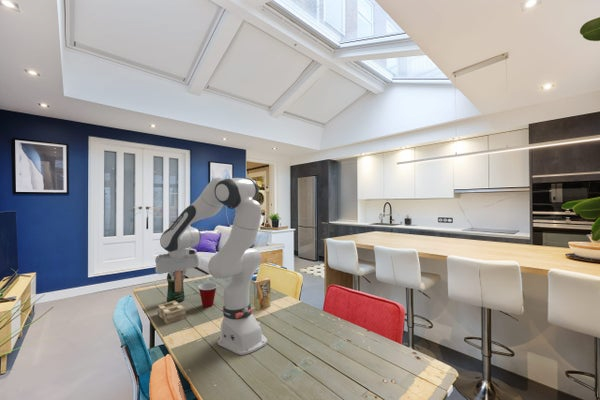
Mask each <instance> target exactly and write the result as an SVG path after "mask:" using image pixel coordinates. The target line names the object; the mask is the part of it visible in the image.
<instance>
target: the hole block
mask: <svg viewBox="0 0 600 400" xmlns="http://www.w3.org/2000/svg"><path fill="white" fill-rule="evenodd" d="M186 309H187V308H186V307H184V306H183V305H182V304H180V302H176V301H171V302H168V303H167V302H164V303H161V304H157V315H158V316H159V317H160V318H161V319H162V321H164V322H165V324H167V325H169V324H172V323H174V322H178V321H181V320H184V319H186V317H187V316H186V315H187V312H186V311H187V310H186Z"/></svg>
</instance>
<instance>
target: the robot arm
mask: <svg viewBox="0 0 600 400" xmlns="http://www.w3.org/2000/svg"><path fill="white" fill-rule="evenodd" d="M259 192H260V188H259V185H258V182H257V181H255V179H252V178H250V177H249V178H247V177H245V178H244V177H231V178H224V177H215V178H213V179H212V180H210V182H209V183H207V184H206V186H205V188H204V189H203V190H202V191H201V194H200V195H199V196H198V197H197V198H196V199H195V200H194V201H193V202H192V203H191V204H190V205H188V206H187V207H186V208H185V209H184V210H183V211H182V212H181V213H180V214H179V216H177V218H176V219H175V221H174V220H173V221H171V222H170V223H169V225H168V229H166V230H165V231H163V233H162V234H161V236H160V238H159V239H160V240H159V243H160V246H161V248H162V249H164V250H165V251H166V252H167V253H163V254H158V255H157V256H156V257H155V273H156V274H157V275H162V274H168V273H169V274H170V276H171V280H176V279H175V278H176V276H173V275H172V274H173V272H174V271H179V270H181V271H183V273H182V274H181V278H184V279H185V275H186V273H187V271H188V269H194V268H197V267H198V266H199V264H200V263H199V262H200V261H199V256H198V254H197V253H198V251H197V250H198V249H197V250H196V249H195V248H193V247H196V246H198V245H199V244H200V242H201V240H202V235H201V232H200V230H199V229H198V228H196V227H193V226H191V225H192V224H194V223H196V222H198V221H201V220H206V219H209V218H212V217H215V216H216V215H217V214H218V213H219V212H221V210H222V208H223V207H224V206H226V207H227V208H228V209H230V210H233V209H235V215H234V219H233V222H232V225H231V228H230V229H231V230H230V234H229V235H228V238H227V240H226V241H225V243H224V245H223V246H222V247H221V248H220V249H219V251H217V252H216V253H215V254H214V255H213V256H211V257H210V259H209V261H208V265H207V268H208V272H209V274H210V275H211V276H212V277H213V278H214V279H227V278H230V277H231V279H230V281H229V282H228V283H227V285H225V287H224V290H223V302H224V303H223V309H222V313H223V314H222V315H223V319H222V320H221V322H220V332H219V333H220V334H219V335H220V336H219V339H218V340H217V345H218V346H220V347H223V348H224V349H227V350H229V351H230V352H233V353H235V354H237V355H239V356H243V355H247V354H251V353H254V352H255V351H257V350H259V349H261V348H263V347H264V346H265V345H266V344H267V343H268V338H267V337H266V336H265V335H264V334H263V333H262V324H261V321H258V320H257V319H256V317H255V316H254V315H253V308H252V306H251V302H250V288H251V283H252V280H253V277H254V274H255V272H256V271H257V269H258V268H260V265H261V263H262V255H261V253H260V251H259V250H258V249H257V248H253V247H252V246H253V245H254V243H255V241H256V239H257V234H258V232H259V228H260V227H259V226H260V223H261V219H262V206H261V204H260V202H258V201H257V200H256V198H257V196H258V195H259Z"/></svg>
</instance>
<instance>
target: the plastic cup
mask: <svg viewBox="0 0 600 400" xmlns="http://www.w3.org/2000/svg"><path fill="white" fill-rule="evenodd" d="M197 288H198V290H199V294H200V300H201V305H202V307H203V308H210V307H213V306H214V301H215V296H216V290H217V288H218V284H217V283H216V282H204V283H201V284H199V285H198V286H197Z"/></svg>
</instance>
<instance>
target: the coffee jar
mask: <svg viewBox="0 0 600 400" xmlns="http://www.w3.org/2000/svg"><path fill="white" fill-rule="evenodd" d="M182 273H183V270H181V274H182ZM166 274H167V276H166V280H167V293H166V294H167V295H166V303H168V302H171V301H176V302H178V303H180V302H183V301H185V290H184V280H185V277H184V278H181V291H179V292H175V280H171V276H170V274H169V272H168V273H166ZM172 275H173V276H175V271H174V272H173V274H172Z"/></svg>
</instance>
